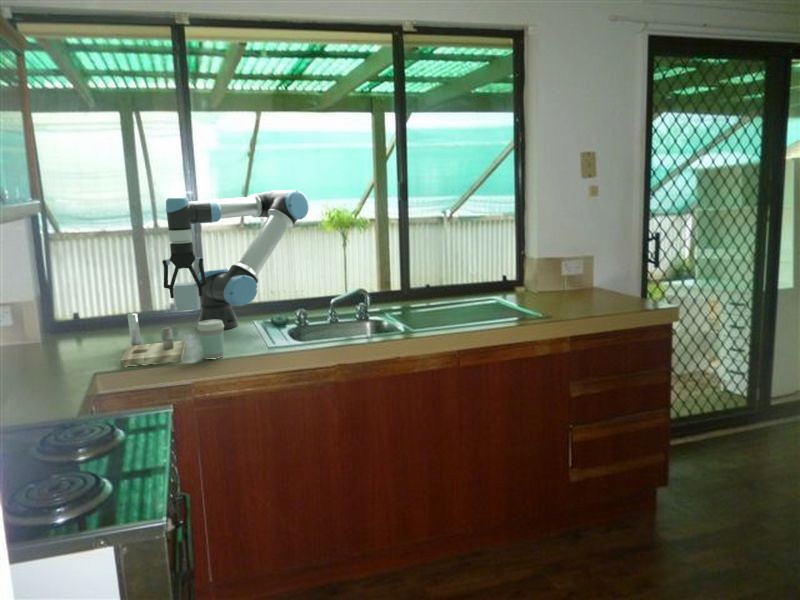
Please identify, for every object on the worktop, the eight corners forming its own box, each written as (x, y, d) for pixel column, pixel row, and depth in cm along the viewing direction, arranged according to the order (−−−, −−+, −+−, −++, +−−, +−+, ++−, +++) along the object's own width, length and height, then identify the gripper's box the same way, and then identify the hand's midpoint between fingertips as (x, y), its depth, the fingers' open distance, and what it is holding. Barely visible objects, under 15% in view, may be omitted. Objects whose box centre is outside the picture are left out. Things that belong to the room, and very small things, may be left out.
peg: (141, 345, 217) (137, 312, 215) (140, 347, 214) (136, 314, 212) (132, 346, 217) (128, 313, 214) (130, 348, 214) (126, 315, 211)
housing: (198, 305, 220) (196, 281, 219) (197, 309, 214) (195, 284, 212) (178, 307, 218) (175, 283, 217) (176, 311, 212) (174, 286, 210)
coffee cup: (217, 352, 205) (214, 317, 203) (232, 356, 200) (229, 320, 197) (195, 358, 198) (191, 323, 196) (209, 362, 193) (206, 326, 191)
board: (185, 347, 212) (182, 321, 211) (181, 361, 195) (178, 333, 194) (130, 352, 208) (126, 326, 206) (121, 367, 191) (117, 338, 189)
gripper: (211, 239, 218) (216, 301, 222) (152, 242, 212) (159, 306, 217) (210, 241, 210) (216, 305, 215) (149, 244, 205) (156, 310, 210)
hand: (187, 305), depth 216 cm, fingers closed on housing, 7 cm apart
